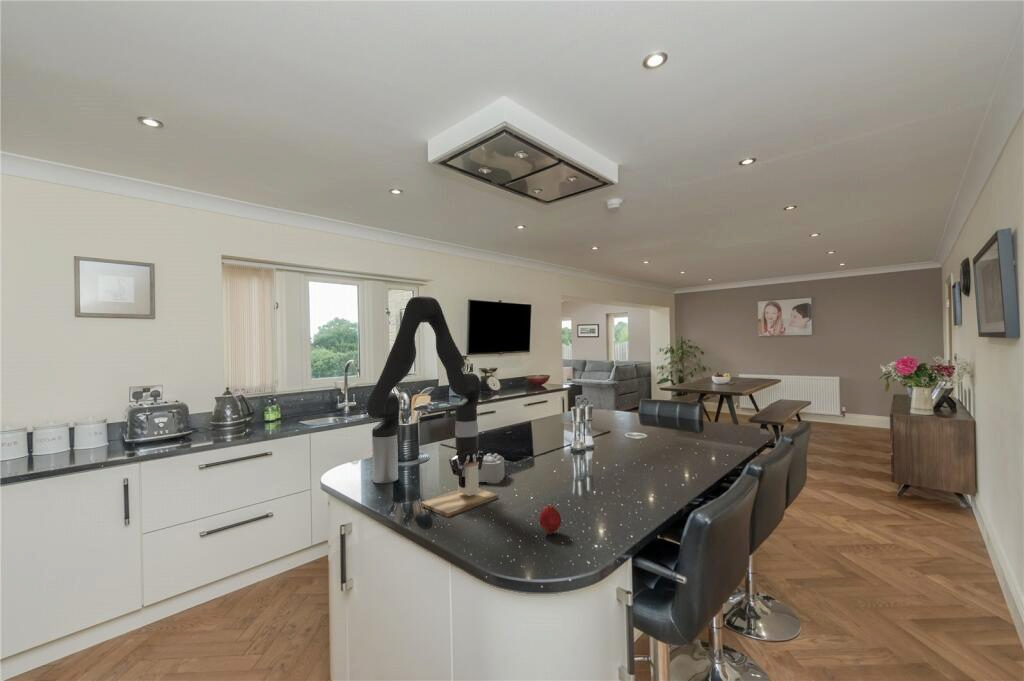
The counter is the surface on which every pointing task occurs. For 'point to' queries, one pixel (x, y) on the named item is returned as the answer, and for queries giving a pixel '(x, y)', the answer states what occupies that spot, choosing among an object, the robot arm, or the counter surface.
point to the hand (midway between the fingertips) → (467, 485)
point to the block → (470, 479)
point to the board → (457, 502)
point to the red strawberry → (550, 519)
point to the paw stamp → (491, 469)
